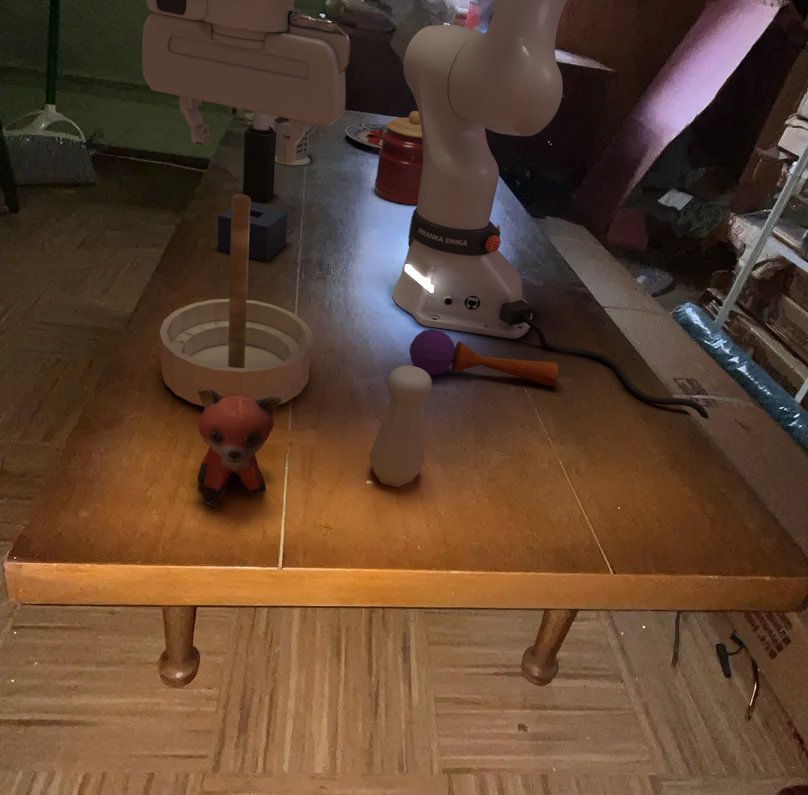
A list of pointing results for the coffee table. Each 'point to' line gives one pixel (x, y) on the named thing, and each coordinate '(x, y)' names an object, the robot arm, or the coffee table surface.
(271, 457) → the coffee table surface
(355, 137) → the ceramic plate
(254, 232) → the stand
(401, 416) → the salt shaker
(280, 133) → the french press
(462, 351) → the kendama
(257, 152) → the black and white bottle
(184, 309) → the bowl
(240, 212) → the stick
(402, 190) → the kitchen canister
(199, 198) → the coffee table surface
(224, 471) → the stuffed fox
